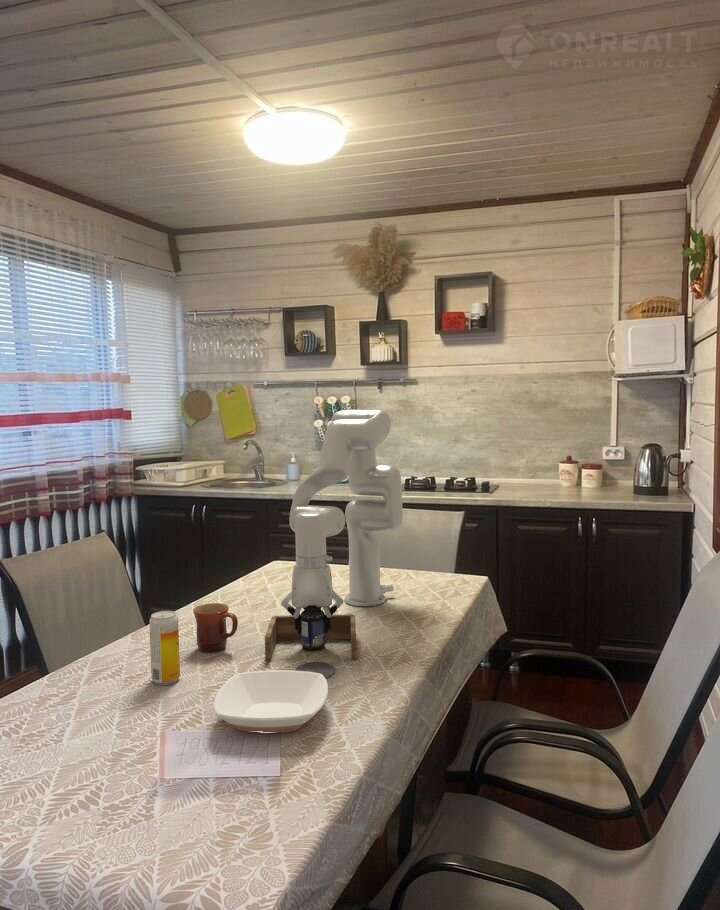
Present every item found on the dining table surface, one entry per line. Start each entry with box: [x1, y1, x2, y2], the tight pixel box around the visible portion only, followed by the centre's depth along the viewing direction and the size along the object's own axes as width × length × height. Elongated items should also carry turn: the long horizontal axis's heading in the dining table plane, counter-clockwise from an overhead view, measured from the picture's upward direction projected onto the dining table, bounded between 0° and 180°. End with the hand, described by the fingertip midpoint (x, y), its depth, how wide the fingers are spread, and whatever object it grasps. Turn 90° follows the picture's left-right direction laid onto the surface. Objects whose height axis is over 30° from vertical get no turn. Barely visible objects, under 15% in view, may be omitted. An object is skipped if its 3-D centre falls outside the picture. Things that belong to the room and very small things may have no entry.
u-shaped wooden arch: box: [264, 613, 357, 663], centre depth 165 cm, size 16×22×6 cm
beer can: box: [149, 610, 181, 686], centre depth 147 cm, size 6×6×15 cm
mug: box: [192, 602, 239, 653], centre depth 165 cm, size 12×9×10 cm
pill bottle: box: [300, 605, 327, 650], centre depth 165 cm, size 6×6×11 cm
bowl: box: [212, 669, 329, 734], centre depth 129 cm, size 22×22×5 cm
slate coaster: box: [294, 661, 336, 680], centre depth 151 cm, size 9×9×1 cm
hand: (313, 631), depth 166 cm, fingers closed on pill bottle, 6 cm apart
